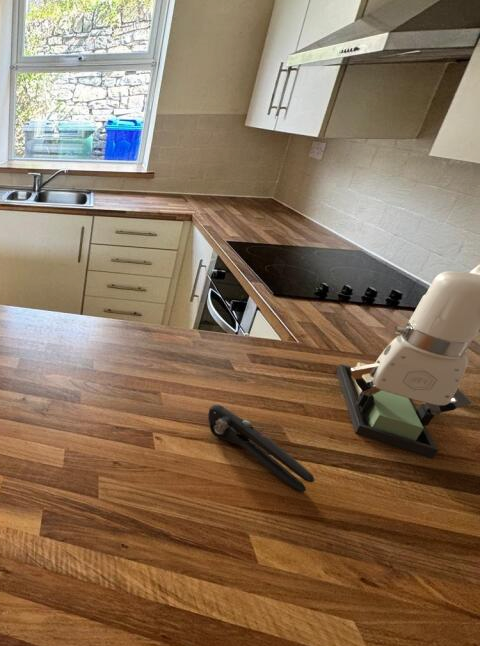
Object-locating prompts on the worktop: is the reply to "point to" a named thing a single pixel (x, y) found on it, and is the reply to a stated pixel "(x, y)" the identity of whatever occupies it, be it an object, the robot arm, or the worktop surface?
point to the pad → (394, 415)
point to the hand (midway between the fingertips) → (388, 416)
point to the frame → (420, 446)
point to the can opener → (240, 433)
